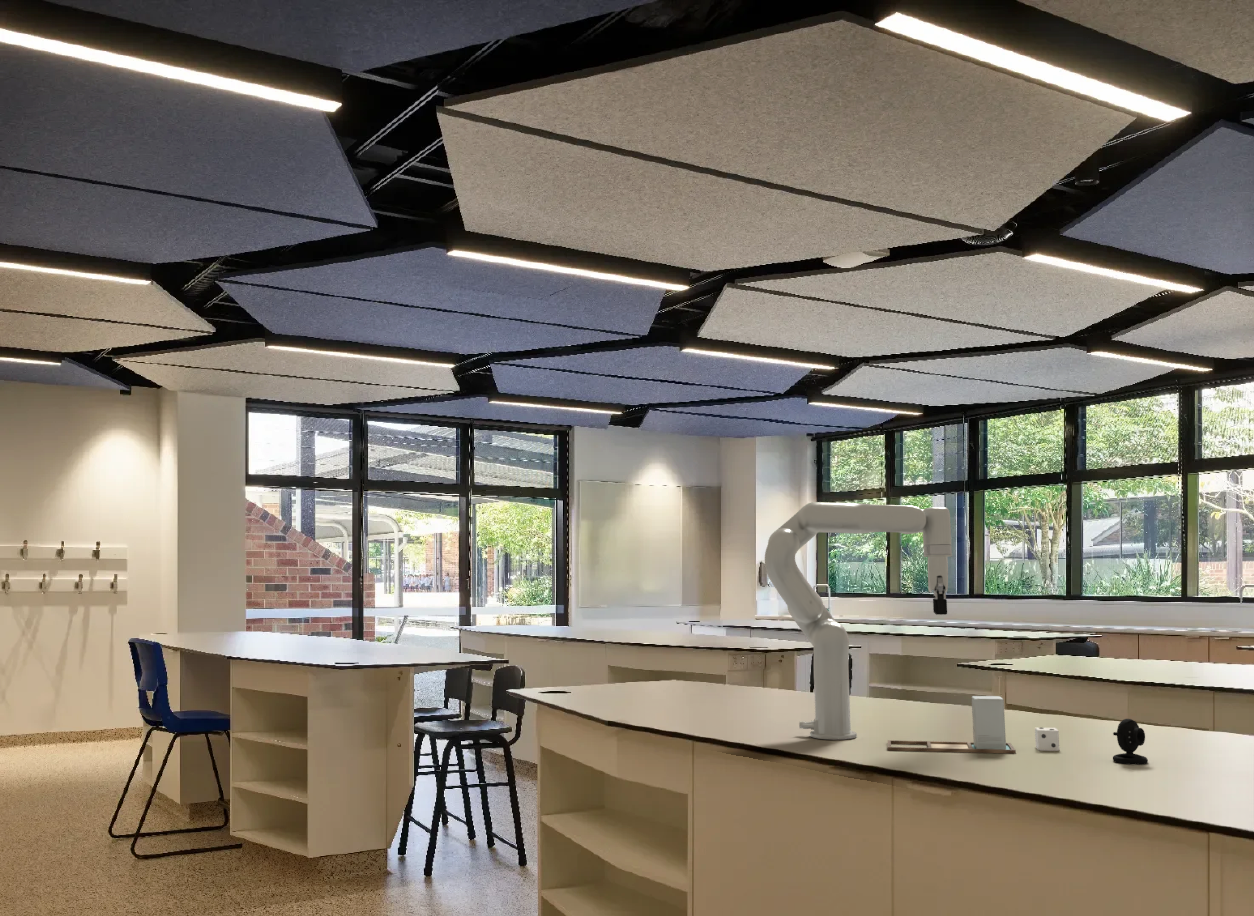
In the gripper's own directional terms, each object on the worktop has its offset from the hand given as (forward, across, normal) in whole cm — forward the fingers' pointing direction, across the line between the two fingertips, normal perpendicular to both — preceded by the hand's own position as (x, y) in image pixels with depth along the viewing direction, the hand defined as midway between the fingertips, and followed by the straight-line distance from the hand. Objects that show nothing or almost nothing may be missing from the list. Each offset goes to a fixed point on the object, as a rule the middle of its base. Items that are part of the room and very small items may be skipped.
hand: (940, 613), depth 300 cm
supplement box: (+33, +20, +10) cm, 40 cm away
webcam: (+34, +34, +40) cm, 62 cm away
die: (+33, +17, +24) cm, 45 cm away
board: (+33, +20, 0) cm, 39 cm away
